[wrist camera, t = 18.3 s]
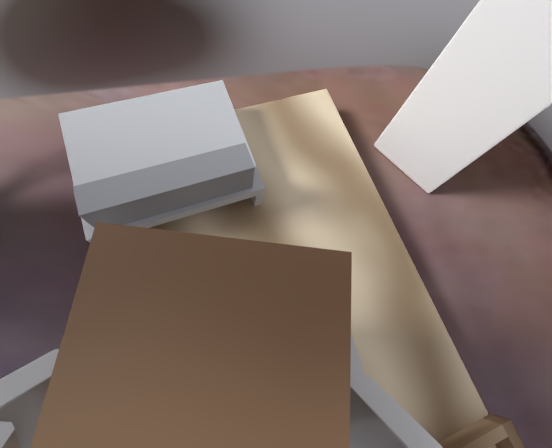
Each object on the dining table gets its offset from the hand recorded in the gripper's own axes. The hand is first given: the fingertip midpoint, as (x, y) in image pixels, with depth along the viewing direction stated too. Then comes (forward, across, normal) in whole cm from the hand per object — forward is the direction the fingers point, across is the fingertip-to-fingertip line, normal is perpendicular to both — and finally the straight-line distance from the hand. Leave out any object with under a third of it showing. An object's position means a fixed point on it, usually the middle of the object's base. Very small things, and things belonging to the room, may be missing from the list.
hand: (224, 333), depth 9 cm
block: (+4, 0, +5) cm, 6 cm away
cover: (+14, +5, 0) cm, 15 cm away
